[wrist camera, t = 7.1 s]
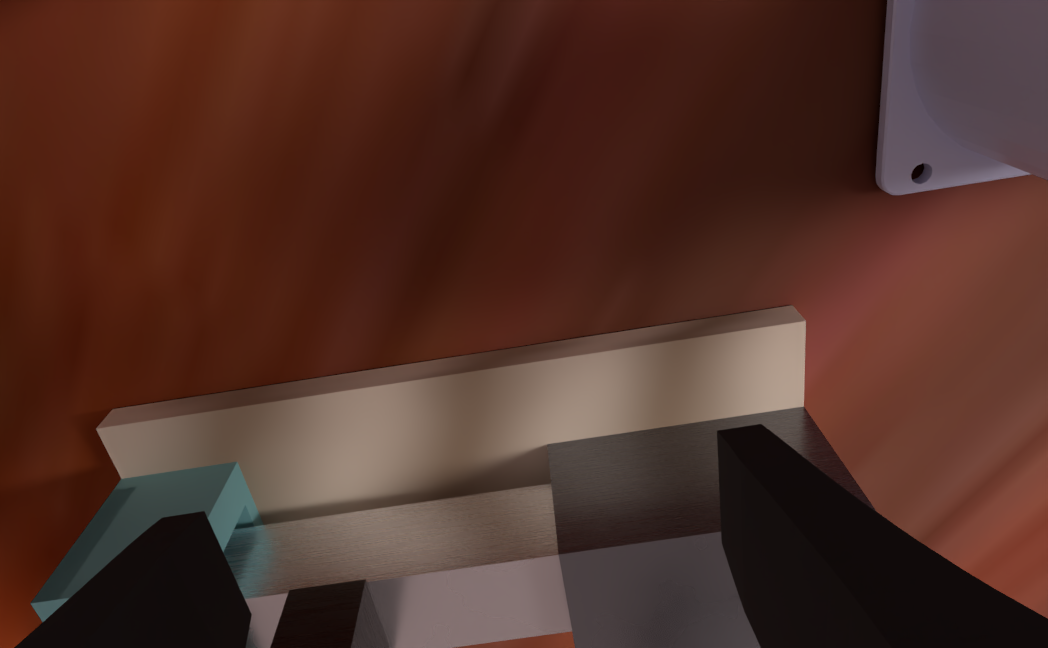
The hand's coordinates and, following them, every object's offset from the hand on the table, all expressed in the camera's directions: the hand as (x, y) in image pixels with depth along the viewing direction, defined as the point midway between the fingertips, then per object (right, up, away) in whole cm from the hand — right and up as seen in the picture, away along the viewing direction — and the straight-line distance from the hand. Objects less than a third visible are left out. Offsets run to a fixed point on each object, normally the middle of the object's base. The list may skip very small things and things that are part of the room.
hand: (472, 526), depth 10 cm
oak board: (-1, -3, +13) cm, 13 cm away
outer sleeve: (+5, -2, +13) cm, 14 cm away
